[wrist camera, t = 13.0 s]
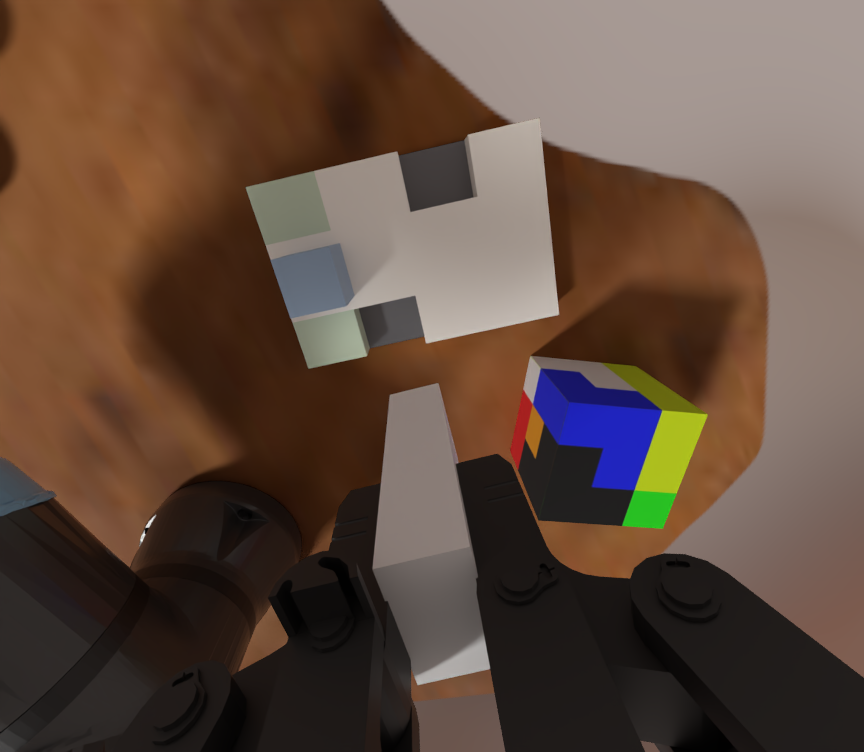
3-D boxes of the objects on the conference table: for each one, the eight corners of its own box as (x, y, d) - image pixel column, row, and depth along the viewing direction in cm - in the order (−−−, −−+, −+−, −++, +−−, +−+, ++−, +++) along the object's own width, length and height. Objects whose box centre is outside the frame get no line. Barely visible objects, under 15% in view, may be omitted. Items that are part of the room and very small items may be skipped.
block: (305, 306, 32) (290, 318, 28) (287, 254, 30) (270, 260, 27) (354, 295, 32) (346, 306, 28) (339, 243, 30) (329, 246, 27)
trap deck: (315, 359, 36) (308, 368, 34) (258, 189, 31) (245, 187, 29) (549, 308, 35) (559, 314, 33) (530, 125, 30) (539, 117, 28)
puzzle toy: (530, 355, 37) (568, 401, 28) (635, 365, 38) (707, 414, 28) (510, 450, 40) (538, 520, 31) (606, 458, 41) (662, 528, 32)
